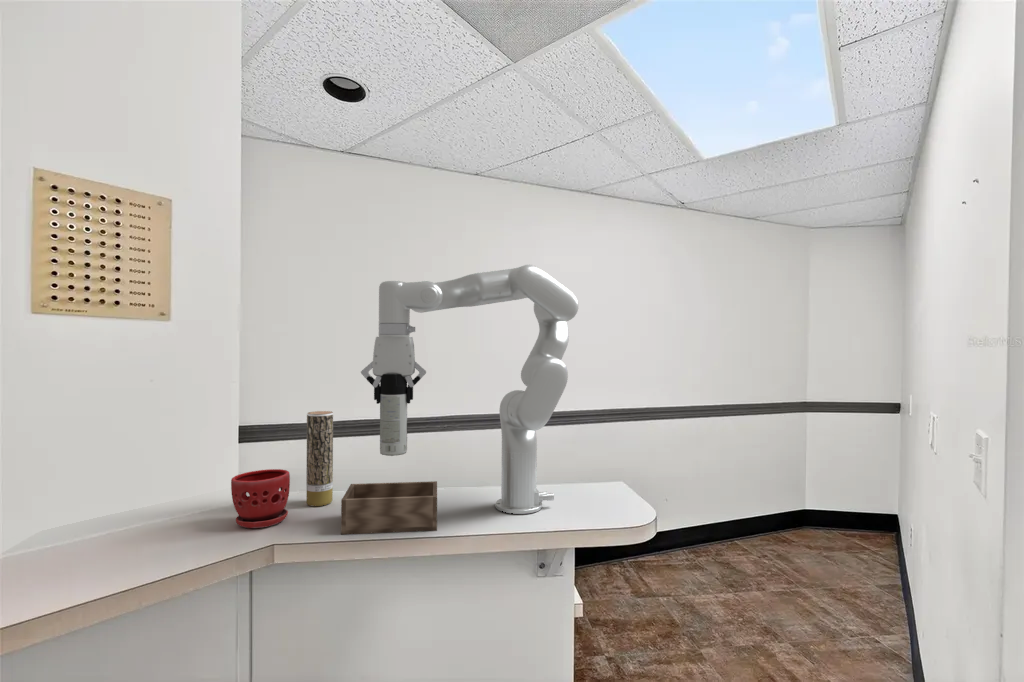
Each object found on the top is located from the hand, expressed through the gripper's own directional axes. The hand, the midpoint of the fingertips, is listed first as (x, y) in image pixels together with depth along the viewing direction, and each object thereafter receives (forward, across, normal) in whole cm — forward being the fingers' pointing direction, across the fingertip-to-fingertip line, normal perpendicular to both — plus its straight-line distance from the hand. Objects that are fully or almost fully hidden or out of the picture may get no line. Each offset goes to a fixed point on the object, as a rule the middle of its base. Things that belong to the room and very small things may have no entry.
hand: (393, 402), depth 133 cm
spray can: (+13, 0, 0) cm, 13 cm away
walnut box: (+30, 0, +1) cm, 30 cm away
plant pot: (+30, +32, -3) cm, 44 cm away
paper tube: (+30, +21, -17) cm, 41 cm away
